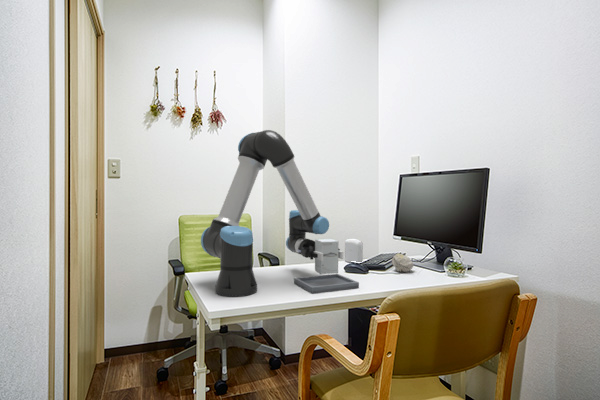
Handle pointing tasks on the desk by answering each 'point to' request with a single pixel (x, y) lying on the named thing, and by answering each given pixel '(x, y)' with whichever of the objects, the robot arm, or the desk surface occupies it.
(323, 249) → the supplement box
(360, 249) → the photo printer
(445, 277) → the desk surface
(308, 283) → the tray
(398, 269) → the fossil replica
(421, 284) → the desk surface
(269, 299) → the desk surface
